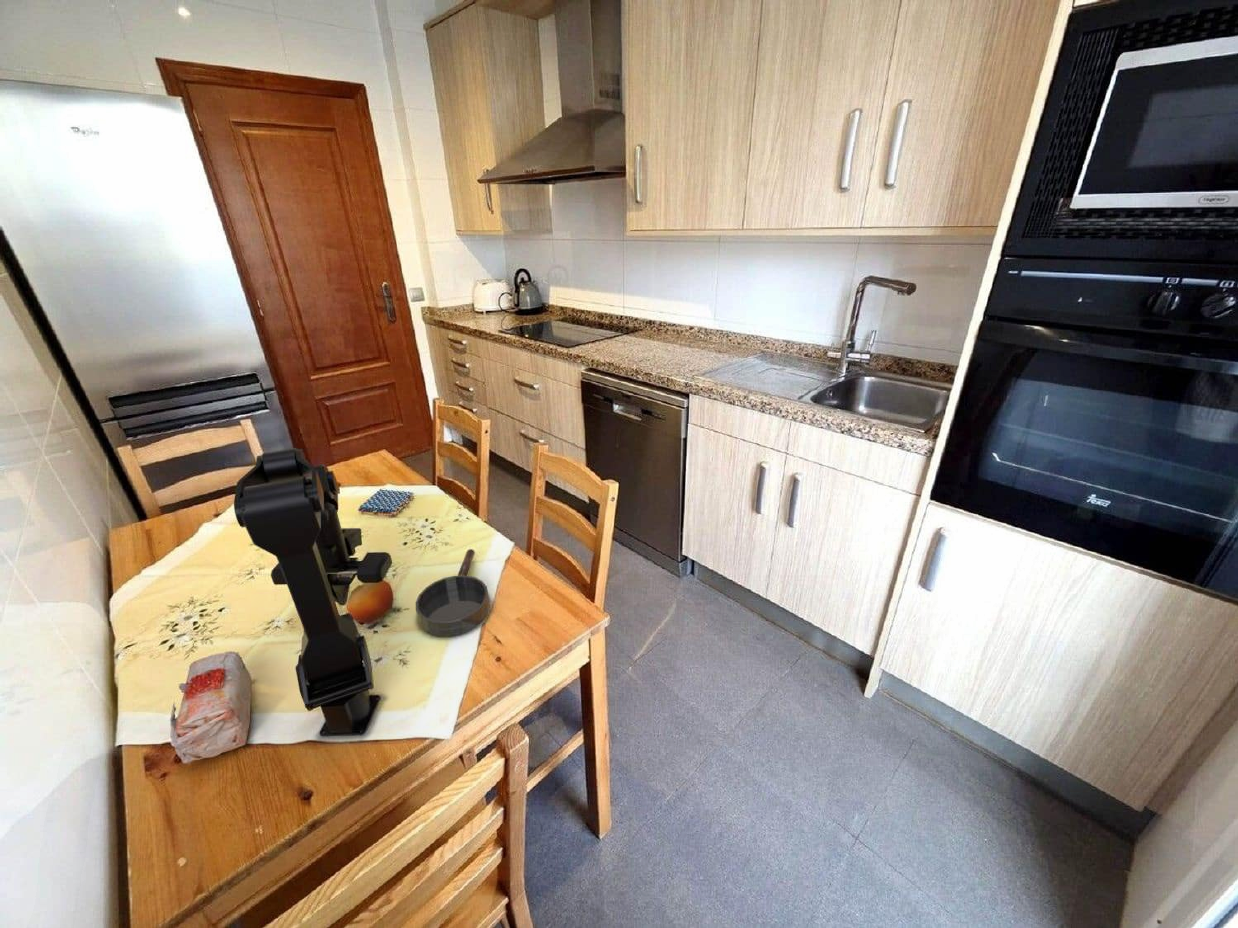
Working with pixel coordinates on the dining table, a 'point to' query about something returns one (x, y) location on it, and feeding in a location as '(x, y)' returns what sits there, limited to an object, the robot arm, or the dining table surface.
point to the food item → (212, 708)
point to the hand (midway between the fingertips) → (343, 603)
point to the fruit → (370, 602)
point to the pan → (452, 606)
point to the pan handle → (466, 563)
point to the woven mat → (386, 502)
